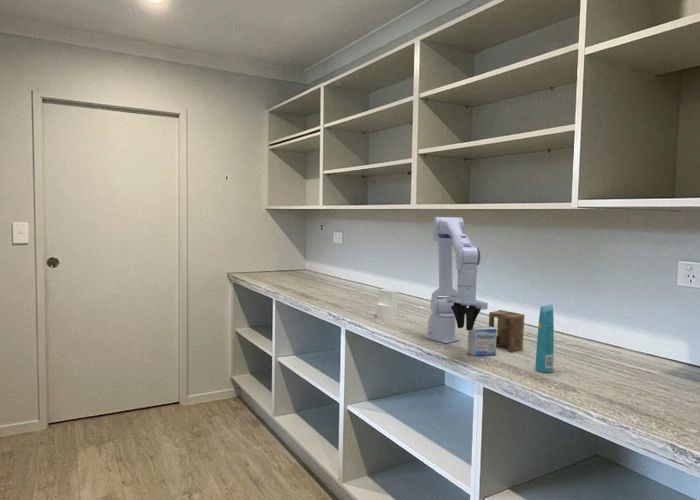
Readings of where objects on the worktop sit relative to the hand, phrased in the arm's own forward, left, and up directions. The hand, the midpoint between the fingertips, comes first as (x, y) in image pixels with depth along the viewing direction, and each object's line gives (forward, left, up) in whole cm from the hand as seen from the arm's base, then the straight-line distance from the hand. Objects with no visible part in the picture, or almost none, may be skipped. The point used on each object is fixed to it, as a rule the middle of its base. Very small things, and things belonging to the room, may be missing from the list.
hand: (465, 328), depth 152 cm
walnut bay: (0, +22, -9) cm, 24 cm away
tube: (+21, +10, -10) cm, 25 cm away
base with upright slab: (-59, +22, -10) cm, 64 cm away
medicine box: (0, +9, -10) cm, 13 cm away
